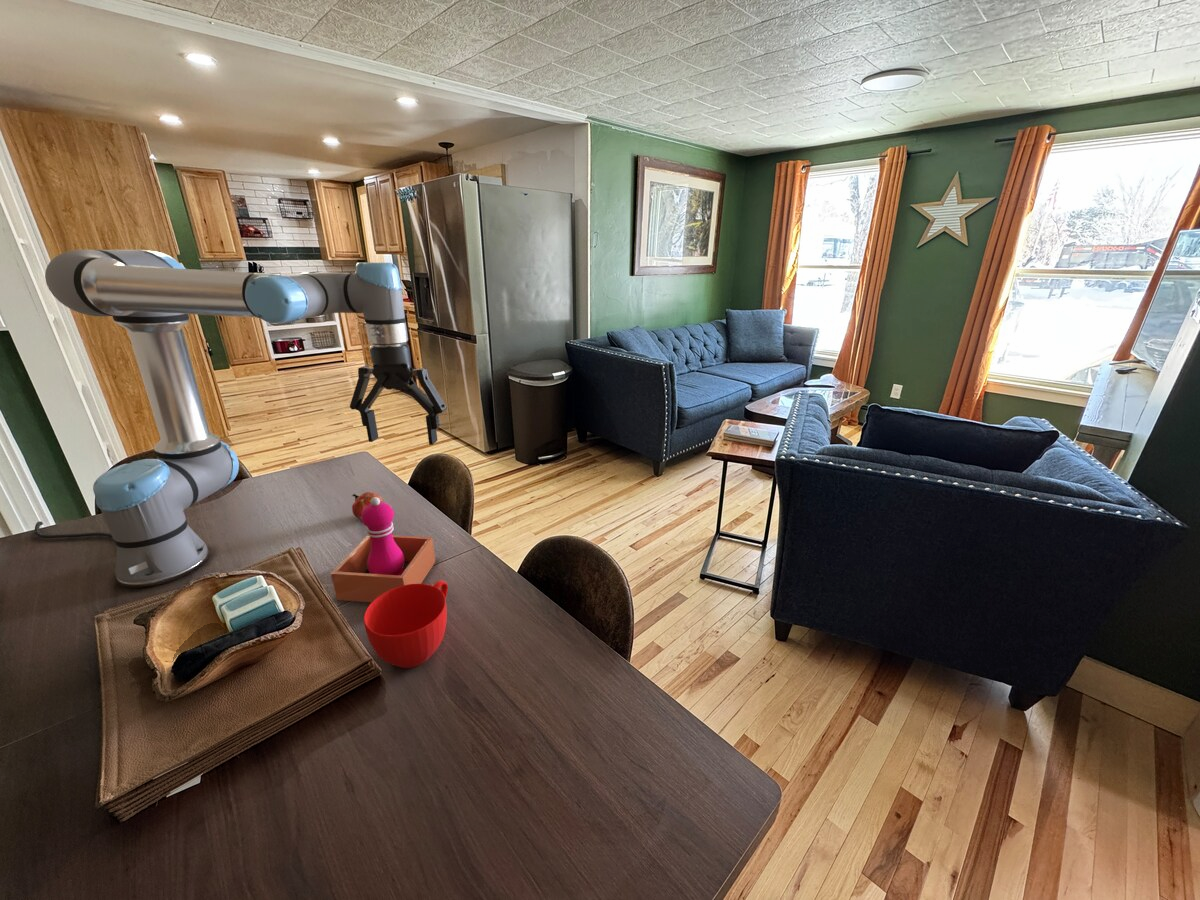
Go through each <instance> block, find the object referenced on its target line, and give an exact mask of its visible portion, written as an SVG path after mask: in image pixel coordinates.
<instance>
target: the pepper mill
mask: <svg viewBox="0 0 1200 900" xmlns="http://www.w3.org/2000/svg"><path fill="white" fill-rule="evenodd" d="M370 503H371V504H369V505H368V506H366V507H365V508H364V510H363V511H362V515H361V519H362V520H361V519H360V520H361V523H362V525H364V526H365V527H366V528H365V529H366V534H367V536H370V538H371V551H370V554H369V557H368V562H367V565H368V569H367V570H368V572H369V574H383V575H399V576H401V575H402V573H403V572H404V571H405V569H404V566H405V563H406V562H405V559H404V555H403V553H402V551H401V549H400V548H399V547H398V546H397V544H396V543H395V541H394V539H393V536H392V535H393V532H394V529H395V528H394V523H393V521H394V518H395V511H394V509H393V507H392V506H391V505H390V504H389V503H388V502H387V503H386V502H384V501H383V502H380V499H379V498H378V497H373V498H372V499H371V501H370Z"/></svg>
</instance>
